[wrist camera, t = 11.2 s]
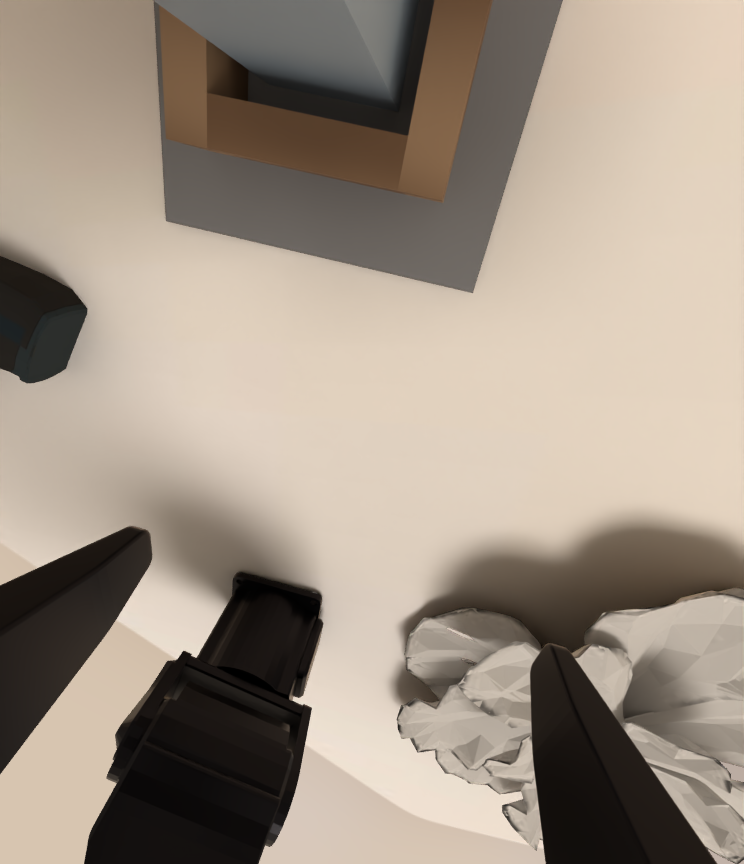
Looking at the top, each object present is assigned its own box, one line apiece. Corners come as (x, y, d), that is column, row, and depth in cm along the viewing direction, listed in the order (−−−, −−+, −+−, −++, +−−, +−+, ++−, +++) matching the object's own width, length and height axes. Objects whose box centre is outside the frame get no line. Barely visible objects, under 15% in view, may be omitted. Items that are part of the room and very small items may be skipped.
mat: (472, 291, 18) (472, 292, 17) (171, 220, 18) (166, 221, 18) (678, -384, 10) (687, -406, 9) (138, -458, 11) (127, -481, 10)
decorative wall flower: (362, 840, 32) (440, 589, 17) (376, 742, 38) (443, 492, 23) (768, 956, 29) (1270, 776, 15) (714, 831, 35) (1032, 613, 21)
